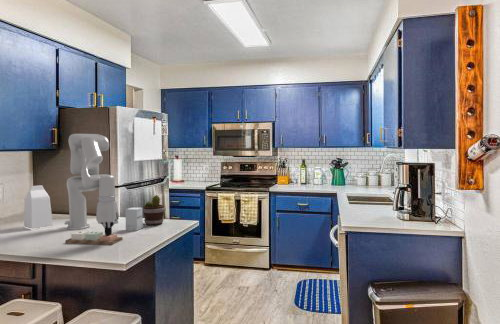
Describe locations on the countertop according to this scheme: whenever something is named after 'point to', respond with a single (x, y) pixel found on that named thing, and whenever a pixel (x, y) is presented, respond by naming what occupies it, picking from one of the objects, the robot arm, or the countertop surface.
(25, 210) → the milk
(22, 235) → the countertop surface
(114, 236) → the tile three
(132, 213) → the supplement box
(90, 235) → the tile two
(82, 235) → the tile one
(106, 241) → the board
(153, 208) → the flowerpot
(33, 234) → the countertop surface
